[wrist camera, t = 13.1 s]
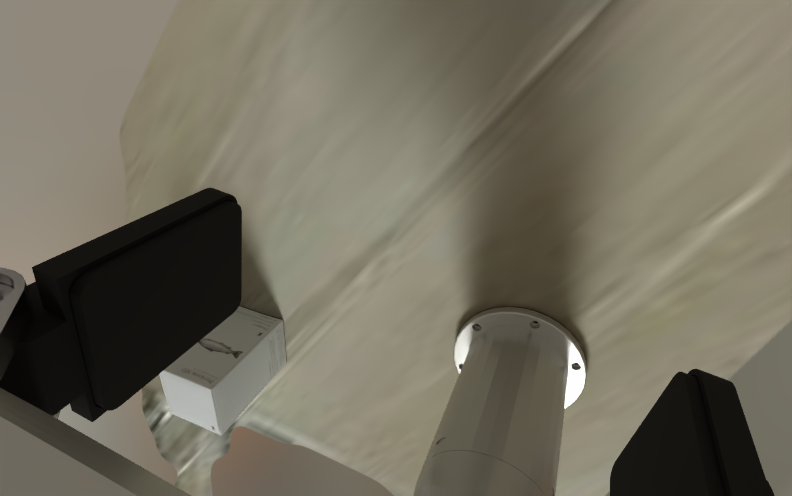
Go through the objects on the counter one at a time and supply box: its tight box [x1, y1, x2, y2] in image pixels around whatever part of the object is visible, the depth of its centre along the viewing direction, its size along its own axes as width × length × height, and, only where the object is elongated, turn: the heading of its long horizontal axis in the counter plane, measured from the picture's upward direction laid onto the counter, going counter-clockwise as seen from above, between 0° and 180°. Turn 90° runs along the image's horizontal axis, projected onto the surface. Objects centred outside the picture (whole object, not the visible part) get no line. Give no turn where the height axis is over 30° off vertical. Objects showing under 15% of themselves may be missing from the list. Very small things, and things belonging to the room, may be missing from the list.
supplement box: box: [159, 306, 286, 435], centre depth 55 cm, size 7×7×13 cm
